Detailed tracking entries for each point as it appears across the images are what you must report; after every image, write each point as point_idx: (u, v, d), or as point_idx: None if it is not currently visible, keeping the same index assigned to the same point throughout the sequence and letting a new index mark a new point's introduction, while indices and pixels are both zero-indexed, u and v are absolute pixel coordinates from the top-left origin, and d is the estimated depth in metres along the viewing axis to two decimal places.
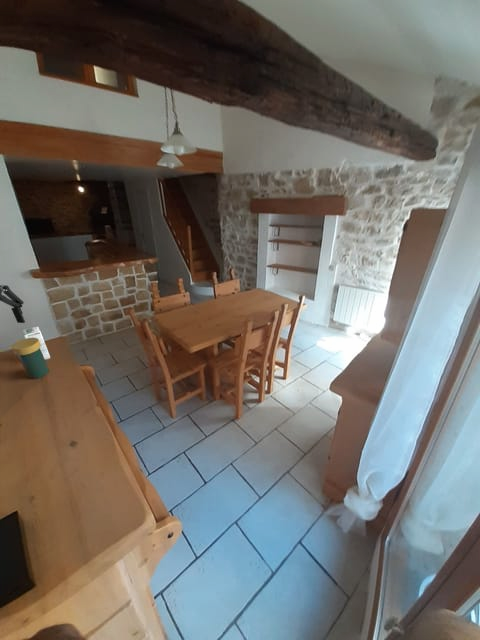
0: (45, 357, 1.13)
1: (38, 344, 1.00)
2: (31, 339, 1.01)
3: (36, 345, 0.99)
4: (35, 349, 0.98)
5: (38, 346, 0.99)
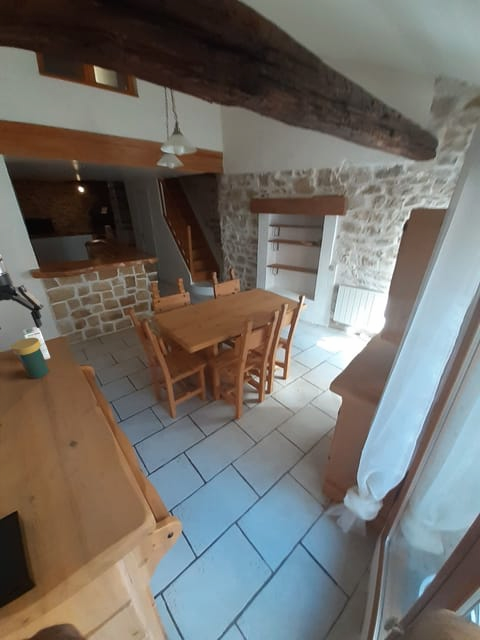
0: (45, 357, 1.13)
1: (38, 344, 1.00)
2: (31, 339, 1.01)
3: (36, 345, 0.99)
4: (35, 349, 0.98)
5: (38, 346, 0.99)
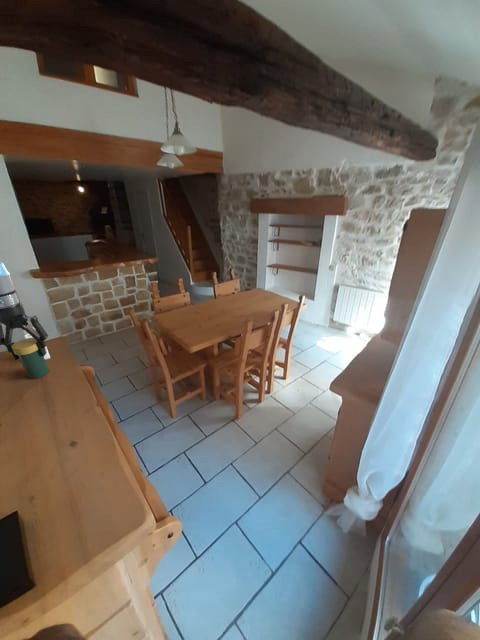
0: (45, 357, 1.13)
1: None
2: (31, 339, 1.01)
3: (36, 345, 0.99)
4: (35, 349, 0.98)
5: None
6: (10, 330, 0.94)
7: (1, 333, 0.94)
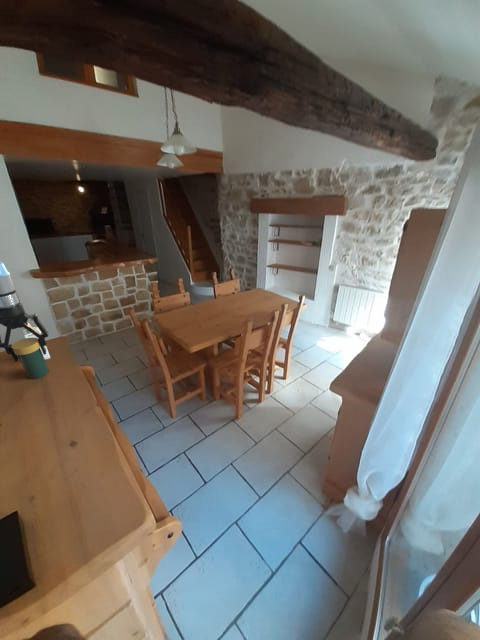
0: (45, 357, 1.13)
1: None
2: (20, 346, 0.96)
3: None
4: None
5: None
6: None
7: None
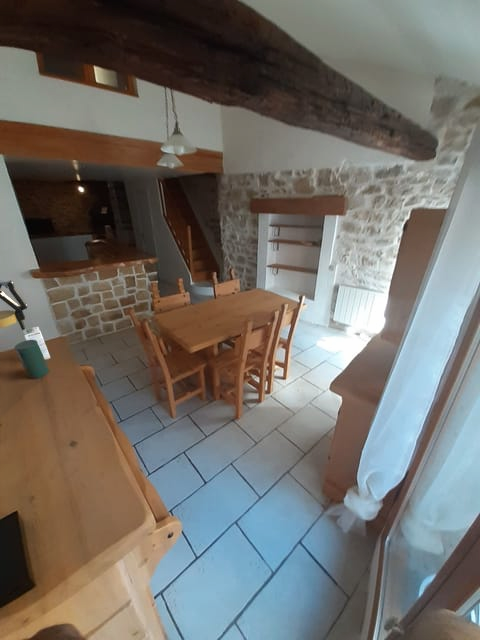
0: (45, 357, 1.13)
1: None
2: None
3: None
4: None
5: None
6: None
7: None
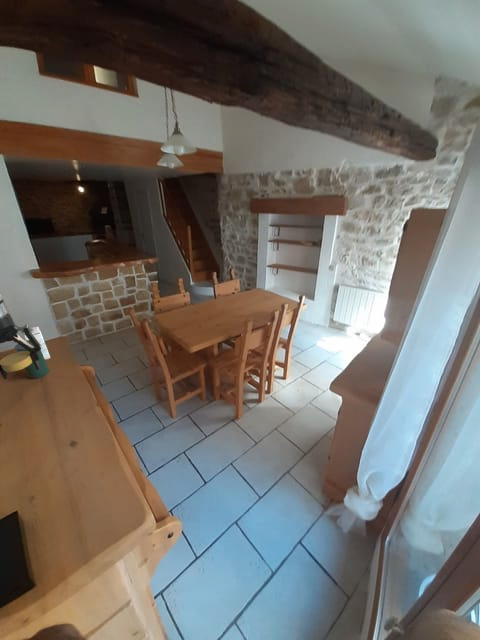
0: (45, 357, 1.13)
1: None
2: (10, 362, 0.86)
3: None
4: None
5: None
6: None
7: None
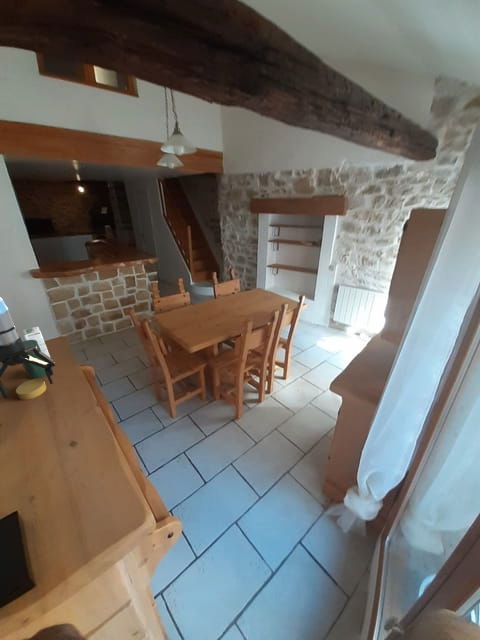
0: None
1: None
2: (26, 391, 0.92)
3: None
4: None
5: None
6: None
7: None
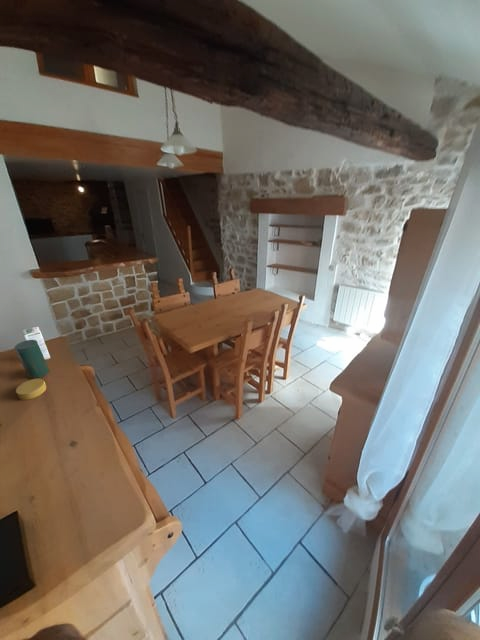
0: (45, 357, 1.13)
1: None
2: (26, 391, 0.92)
3: None
4: None
5: None
6: None
7: None
